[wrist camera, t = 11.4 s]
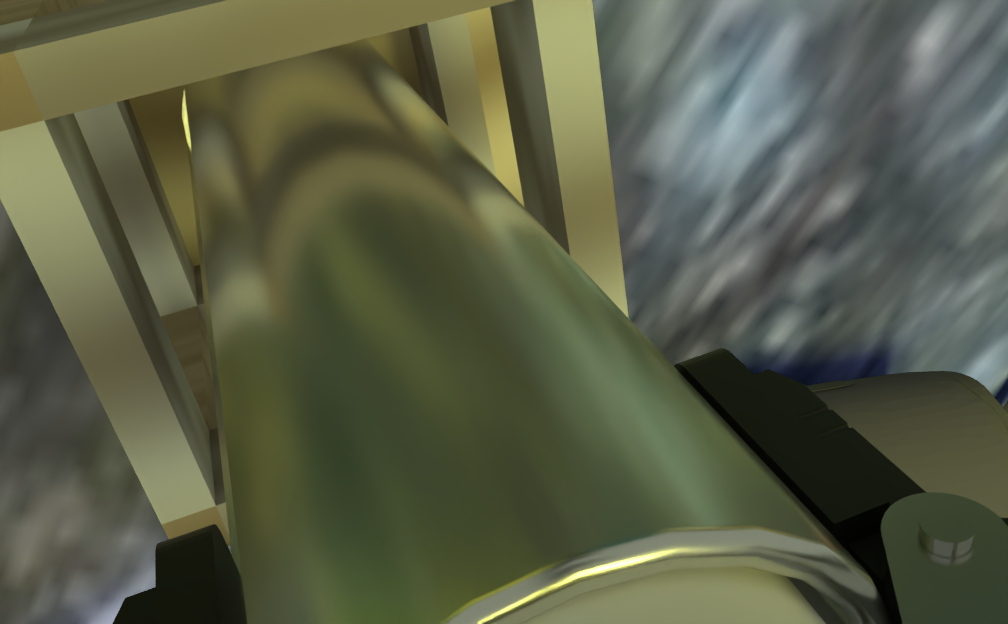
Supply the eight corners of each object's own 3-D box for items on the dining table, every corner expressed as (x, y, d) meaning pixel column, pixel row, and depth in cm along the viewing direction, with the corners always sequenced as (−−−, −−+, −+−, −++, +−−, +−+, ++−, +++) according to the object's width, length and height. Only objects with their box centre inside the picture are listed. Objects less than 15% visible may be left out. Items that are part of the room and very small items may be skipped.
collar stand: (-122, -127, 25) (-371, -75, 13) (475, -246, 28) (708, -289, 16) (120, 383, 33) (102, 688, 22) (553, 247, 37) (740, 449, 25)
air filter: (328, 243, 31) (687, 1125, 10) (141, 149, 28) (111, 1170, 7) (432, 77, 30) (1098, 712, 9) (249, -41, 26) (618, 522, 5)
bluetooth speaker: (455, 563, 43) (528, 744, 34) (452, 394, 38) (536, 555, 30) (864, 471, 49) (1010, 604, 41) (902, 317, 45) (1073, 432, 37)
